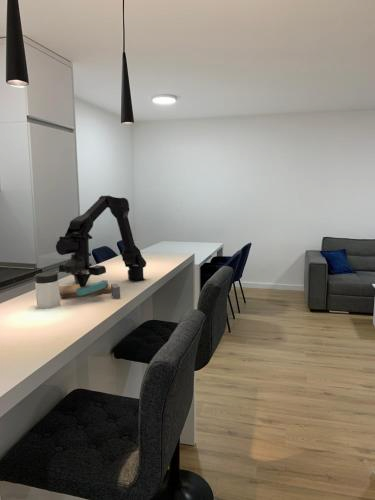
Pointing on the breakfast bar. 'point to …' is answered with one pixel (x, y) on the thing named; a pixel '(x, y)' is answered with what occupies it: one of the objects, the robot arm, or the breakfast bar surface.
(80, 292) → the leg
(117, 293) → the post
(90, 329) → the breakfast bar surface
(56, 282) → the jar
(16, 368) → the breakfast bar surface
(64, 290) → the board
